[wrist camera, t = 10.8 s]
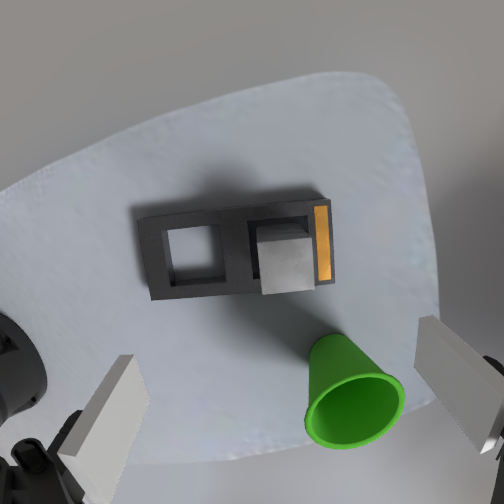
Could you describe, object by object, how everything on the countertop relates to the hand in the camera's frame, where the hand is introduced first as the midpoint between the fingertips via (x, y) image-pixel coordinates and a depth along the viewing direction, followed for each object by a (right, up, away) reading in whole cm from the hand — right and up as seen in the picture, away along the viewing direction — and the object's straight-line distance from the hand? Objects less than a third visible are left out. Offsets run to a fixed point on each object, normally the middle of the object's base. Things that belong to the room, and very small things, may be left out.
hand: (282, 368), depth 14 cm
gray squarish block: (+1, +6, +18) cm, 19 cm away
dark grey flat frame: (-3, +5, +18) cm, 19 cm away
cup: (+8, -6, +21) cm, 23 cm away
